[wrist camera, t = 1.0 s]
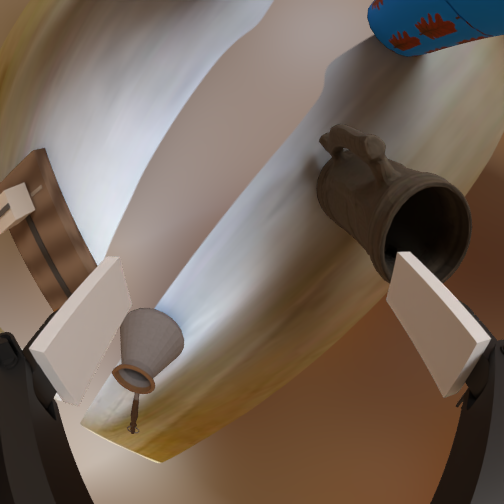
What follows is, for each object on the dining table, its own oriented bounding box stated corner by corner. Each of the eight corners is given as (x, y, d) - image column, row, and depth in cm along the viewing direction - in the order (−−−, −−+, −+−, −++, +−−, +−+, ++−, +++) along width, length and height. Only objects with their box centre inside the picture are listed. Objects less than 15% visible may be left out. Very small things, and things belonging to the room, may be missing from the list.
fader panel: (4, 186, 34) (-7, 190, 32) (44, 147, 32) (32, 150, 30) (78, 327, 47) (71, 337, 44) (126, 313, 45) (120, 324, 42)
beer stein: (403, 192, 36) (492, 235, 17) (354, 242, 39) (414, 321, 21) (331, 113, 33) (394, 85, 14) (278, 169, 36) (290, 194, 17)
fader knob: (7, 198, 32) (-14, 208, 27) (24, 182, 31) (2, 191, 26) (17, 224, 34) (-2, 235, 29) (35, 209, 33) (14, 221, 28)
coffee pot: (127, 291, 43) (89, 352, 29) (192, 311, 44) (172, 381, 31) (125, 369, 51) (102, 424, 38) (176, 385, 53) (162, 444, 39)
